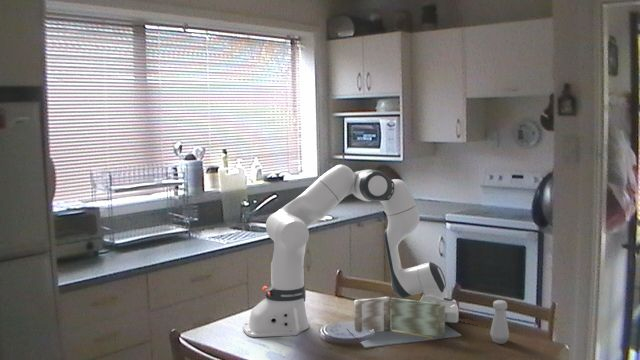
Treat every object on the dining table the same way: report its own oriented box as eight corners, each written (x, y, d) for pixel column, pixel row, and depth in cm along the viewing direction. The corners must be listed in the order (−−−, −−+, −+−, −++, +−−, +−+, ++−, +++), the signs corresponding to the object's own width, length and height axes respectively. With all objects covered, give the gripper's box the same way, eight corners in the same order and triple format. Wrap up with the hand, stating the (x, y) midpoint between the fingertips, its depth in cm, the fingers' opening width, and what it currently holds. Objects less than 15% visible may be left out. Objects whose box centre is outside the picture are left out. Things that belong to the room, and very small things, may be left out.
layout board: (365, 348, 189) (365, 346, 189) (346, 329, 206) (346, 327, 206) (461, 336, 198) (461, 334, 198) (435, 319, 215) (435, 317, 215)
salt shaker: (499, 345, 189) (499, 304, 188) (486, 340, 194) (486, 300, 193) (513, 342, 192) (513, 302, 190) (499, 336, 197) (500, 297, 196)
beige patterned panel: (356, 335, 199) (355, 301, 198) (353, 332, 202) (353, 299, 201) (391, 330, 203) (391, 298, 202) (388, 328, 205) (388, 296, 204)
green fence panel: (390, 330, 202) (390, 298, 201) (392, 328, 204) (392, 297, 203) (443, 337, 194) (443, 305, 193) (445, 335, 196) (445, 303, 195)
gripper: (401, 295, 214) (392, 307, 201) (460, 300, 208) (456, 313, 195) (401, 313, 215) (393, 326, 202) (460, 318, 208) (456, 332, 195)
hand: (424, 319), depth 198 cm, fingers closed
